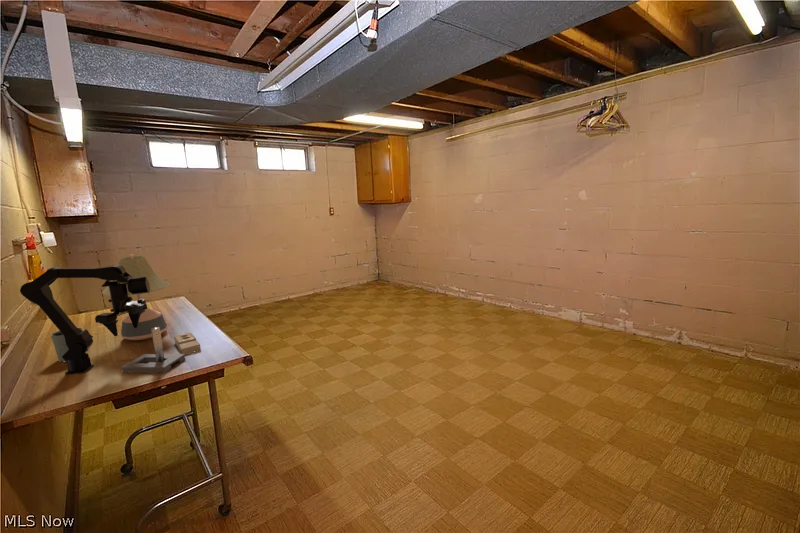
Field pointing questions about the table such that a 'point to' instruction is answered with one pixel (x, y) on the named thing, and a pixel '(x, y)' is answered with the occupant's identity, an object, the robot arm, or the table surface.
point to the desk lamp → (149, 318)
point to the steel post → (158, 344)
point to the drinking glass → (60, 344)
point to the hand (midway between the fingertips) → (126, 331)
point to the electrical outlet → (187, 343)
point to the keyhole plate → (153, 363)
